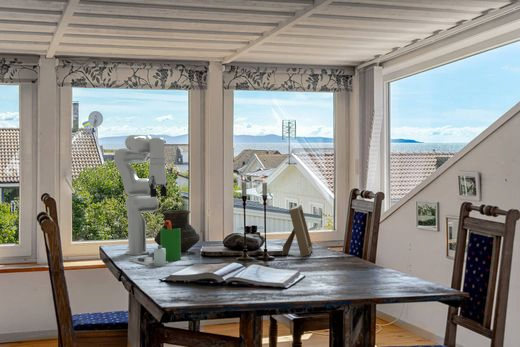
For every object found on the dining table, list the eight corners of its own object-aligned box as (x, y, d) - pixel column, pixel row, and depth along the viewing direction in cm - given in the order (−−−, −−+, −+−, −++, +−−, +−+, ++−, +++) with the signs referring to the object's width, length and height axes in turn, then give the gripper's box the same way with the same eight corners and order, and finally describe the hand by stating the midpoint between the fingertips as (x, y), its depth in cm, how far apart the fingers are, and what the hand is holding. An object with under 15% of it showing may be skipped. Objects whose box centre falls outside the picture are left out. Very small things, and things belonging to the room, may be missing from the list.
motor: (182, 258, 350) (181, 219, 349) (178, 260, 341) (177, 220, 340) (162, 258, 351) (162, 219, 350) (158, 260, 342) (157, 221, 341)
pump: (152, 265, 328) (151, 245, 328) (162, 264, 332) (162, 244, 331) (157, 266, 324) (157, 246, 324) (167, 265, 327) (167, 245, 327)
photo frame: (312, 250, 370) (311, 204, 370) (309, 256, 349) (308, 207, 348) (285, 250, 373) (284, 205, 372) (280, 256, 351) (279, 208, 350)
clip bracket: (129, 260, 343) (129, 256, 343) (149, 258, 350) (148, 254, 350) (147, 265, 327) (147, 261, 327) (168, 263, 334) (168, 258, 334)
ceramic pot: (150, 251, 379) (149, 210, 379) (192, 248, 388) (191, 208, 388) (160, 256, 357) (159, 213, 356) (204, 253, 366) (203, 211, 365)
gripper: (160, 163, 351) (161, 196, 351) (141, 162, 335) (142, 197, 335) (172, 162, 348) (173, 195, 348) (154, 161, 332) (156, 197, 332)
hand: (158, 196), depth 341 cm, fingers open, 9 cm apart
